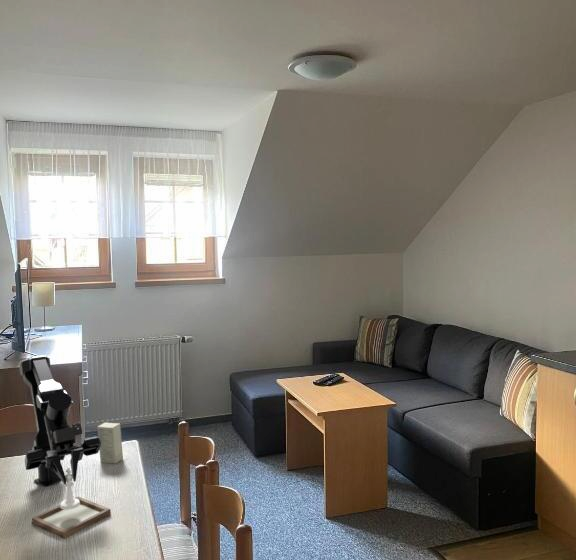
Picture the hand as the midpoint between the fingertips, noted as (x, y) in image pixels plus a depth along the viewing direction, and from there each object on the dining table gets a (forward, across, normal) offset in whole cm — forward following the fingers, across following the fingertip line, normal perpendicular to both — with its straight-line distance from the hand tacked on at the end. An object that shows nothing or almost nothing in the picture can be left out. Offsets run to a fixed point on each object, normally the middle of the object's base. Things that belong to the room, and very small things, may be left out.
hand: (70, 482), depth 150 cm
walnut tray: (+7, 0, +8) cm, 11 cm away
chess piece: (+4, 0, +6) cm, 7 cm away
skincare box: (-16, +20, +32) cm, 41 cm away
